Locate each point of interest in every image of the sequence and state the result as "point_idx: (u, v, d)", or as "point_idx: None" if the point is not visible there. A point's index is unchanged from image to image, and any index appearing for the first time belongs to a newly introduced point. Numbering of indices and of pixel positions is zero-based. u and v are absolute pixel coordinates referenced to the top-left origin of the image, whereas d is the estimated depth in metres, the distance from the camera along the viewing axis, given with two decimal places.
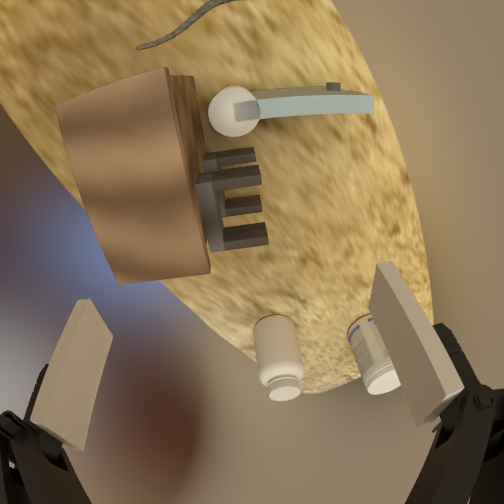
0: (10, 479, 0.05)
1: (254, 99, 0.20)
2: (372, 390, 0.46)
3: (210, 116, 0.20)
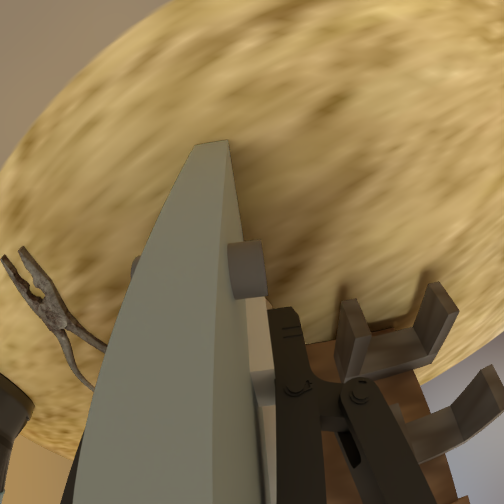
0: None
1: None
2: None
3: None
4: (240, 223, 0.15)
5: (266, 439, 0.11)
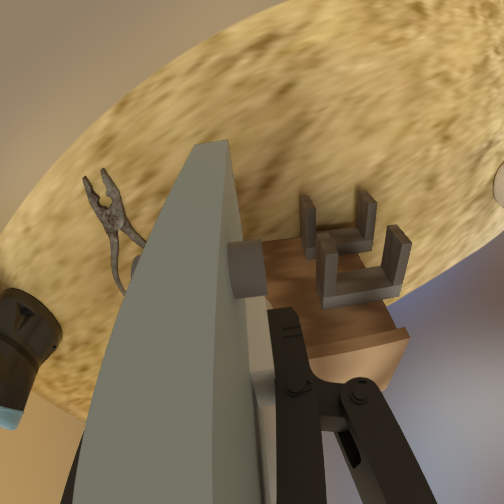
0: None
1: None
2: None
3: None
4: (240, 223, 0.15)
5: (266, 438, 0.11)
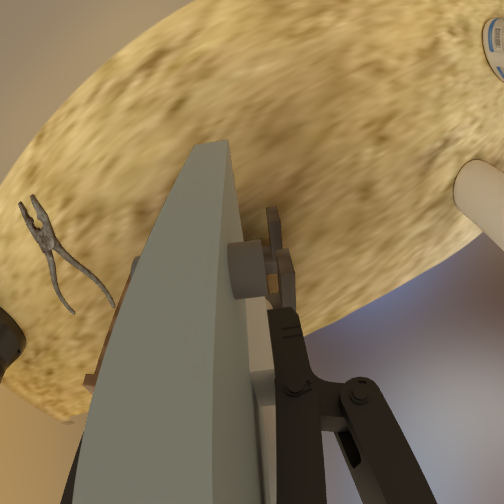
0: None
1: None
2: None
3: None
4: (240, 223, 0.15)
5: (266, 439, 0.11)
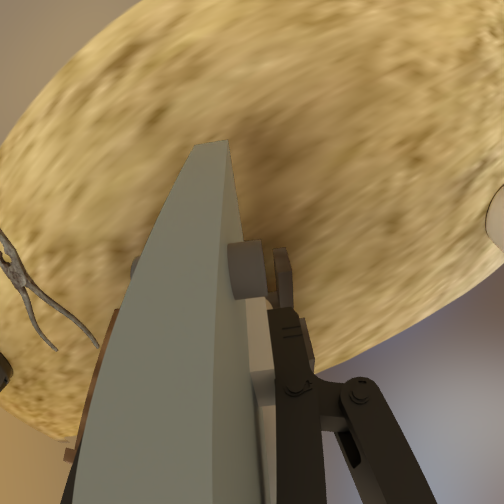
0: None
1: None
2: None
3: None
4: (240, 223, 0.15)
5: (266, 439, 0.11)
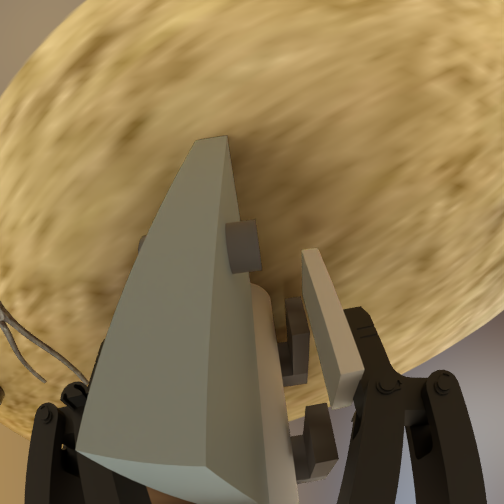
0: (58, 467, 0.06)
1: None
2: None
3: None
4: (238, 214, 0.16)
5: (263, 420, 0.11)
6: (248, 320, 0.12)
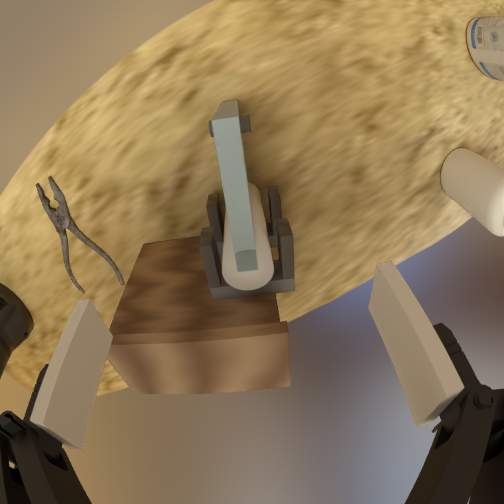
0: (10, 479, 0.05)
1: (233, 254, 0.22)
2: None
3: (250, 288, 0.23)
4: None
5: (253, 221, 0.25)
6: (246, 171, 0.26)
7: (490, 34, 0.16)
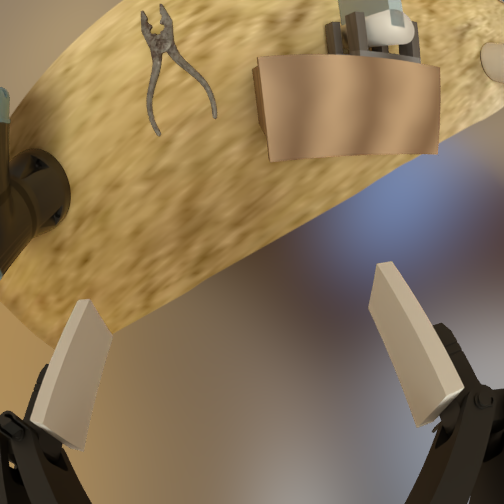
0: (10, 479, 0.05)
1: (389, 10, 0.18)
2: None
3: (400, 42, 0.19)
4: None
5: None
6: None
7: None
